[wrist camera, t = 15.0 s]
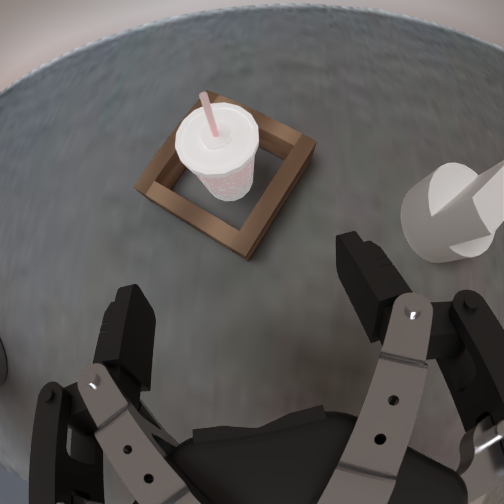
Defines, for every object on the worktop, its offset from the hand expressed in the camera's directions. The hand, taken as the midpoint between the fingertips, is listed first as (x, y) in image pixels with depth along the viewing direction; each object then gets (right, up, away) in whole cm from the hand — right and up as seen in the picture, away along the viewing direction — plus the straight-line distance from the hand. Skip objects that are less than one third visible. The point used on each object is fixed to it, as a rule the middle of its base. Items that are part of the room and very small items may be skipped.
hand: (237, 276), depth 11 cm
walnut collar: (-2, +8, +17) cm, 19 cm away
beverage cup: (-2, +8, +17) cm, 19 cm away
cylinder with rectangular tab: (+20, +4, +16) cm, 26 cm away
